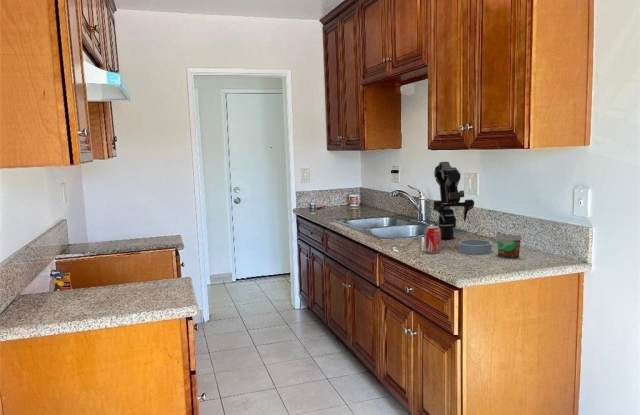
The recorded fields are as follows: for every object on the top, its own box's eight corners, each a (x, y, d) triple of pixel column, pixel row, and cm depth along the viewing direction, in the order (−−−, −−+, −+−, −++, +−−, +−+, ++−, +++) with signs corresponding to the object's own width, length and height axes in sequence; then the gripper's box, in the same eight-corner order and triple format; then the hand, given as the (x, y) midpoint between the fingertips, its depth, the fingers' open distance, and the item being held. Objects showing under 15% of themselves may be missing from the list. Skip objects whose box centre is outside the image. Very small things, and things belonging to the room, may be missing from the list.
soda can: (425, 250, 233) (424, 225, 232) (440, 250, 232) (440, 225, 231) (425, 253, 226) (425, 228, 225) (441, 253, 225) (441, 227, 224)
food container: (489, 255, 218) (489, 232, 217) (499, 253, 221) (499, 231, 220) (511, 260, 207) (511, 236, 206) (521, 258, 210) (521, 235, 209)
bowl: (452, 251, 230) (452, 242, 229) (472, 246, 237) (472, 238, 237) (477, 255, 217) (477, 247, 217) (498, 250, 225) (498, 242, 225)
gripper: (433, 185, 231) (436, 215, 225) (474, 183, 229) (478, 214, 223) (431, 194, 242) (434, 224, 236) (470, 193, 240) (474, 223, 234)
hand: (454, 221), depth 232 cm, fingers open, 9 cm apart
